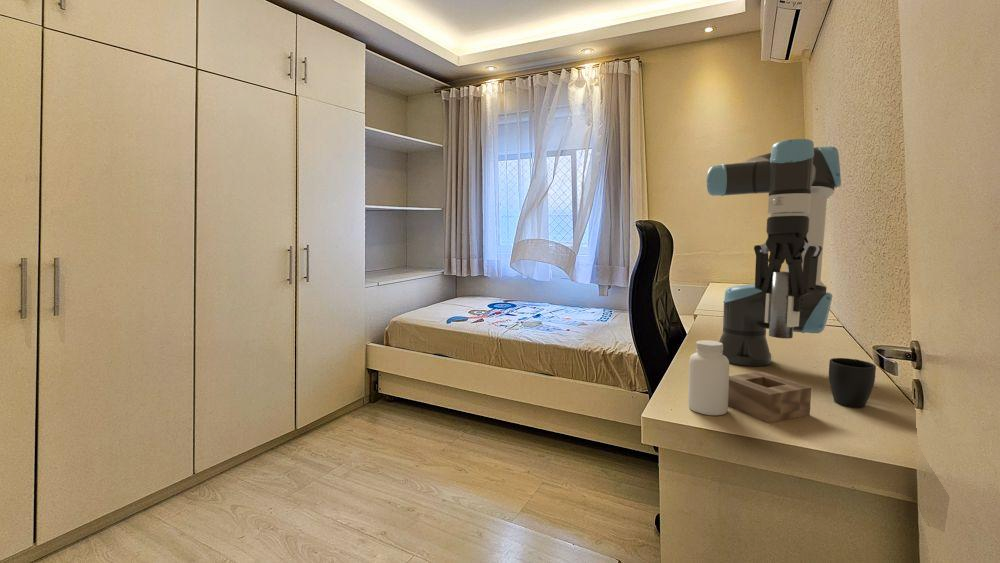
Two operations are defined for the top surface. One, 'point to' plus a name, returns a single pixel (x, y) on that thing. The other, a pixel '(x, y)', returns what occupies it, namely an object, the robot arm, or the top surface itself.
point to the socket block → (768, 396)
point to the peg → (780, 305)
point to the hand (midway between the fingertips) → (781, 324)
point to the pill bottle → (708, 379)
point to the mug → (851, 381)
